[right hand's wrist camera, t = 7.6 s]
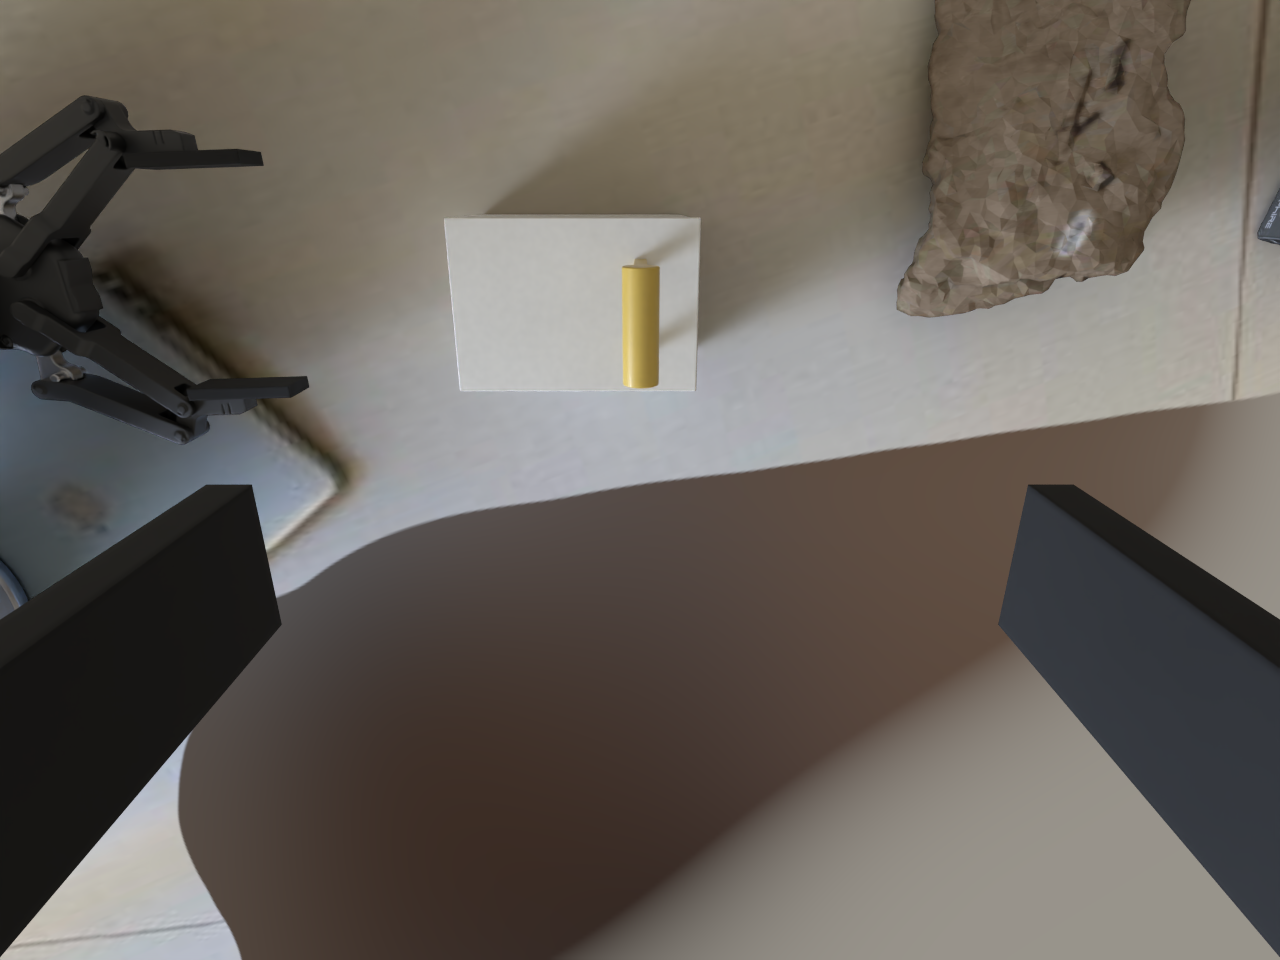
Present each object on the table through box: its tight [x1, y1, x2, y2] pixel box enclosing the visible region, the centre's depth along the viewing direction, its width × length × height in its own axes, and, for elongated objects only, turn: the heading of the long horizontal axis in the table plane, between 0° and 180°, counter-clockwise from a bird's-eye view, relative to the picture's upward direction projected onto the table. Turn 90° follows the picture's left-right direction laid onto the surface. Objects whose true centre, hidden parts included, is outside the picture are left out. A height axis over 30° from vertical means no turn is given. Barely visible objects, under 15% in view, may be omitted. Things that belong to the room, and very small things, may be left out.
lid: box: [444, 217, 701, 391], centre depth 38 cm, size 14×10×8 cm
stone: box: [897, 0, 1190, 317], centre depth 44 cm, size 21×15×6 cm
